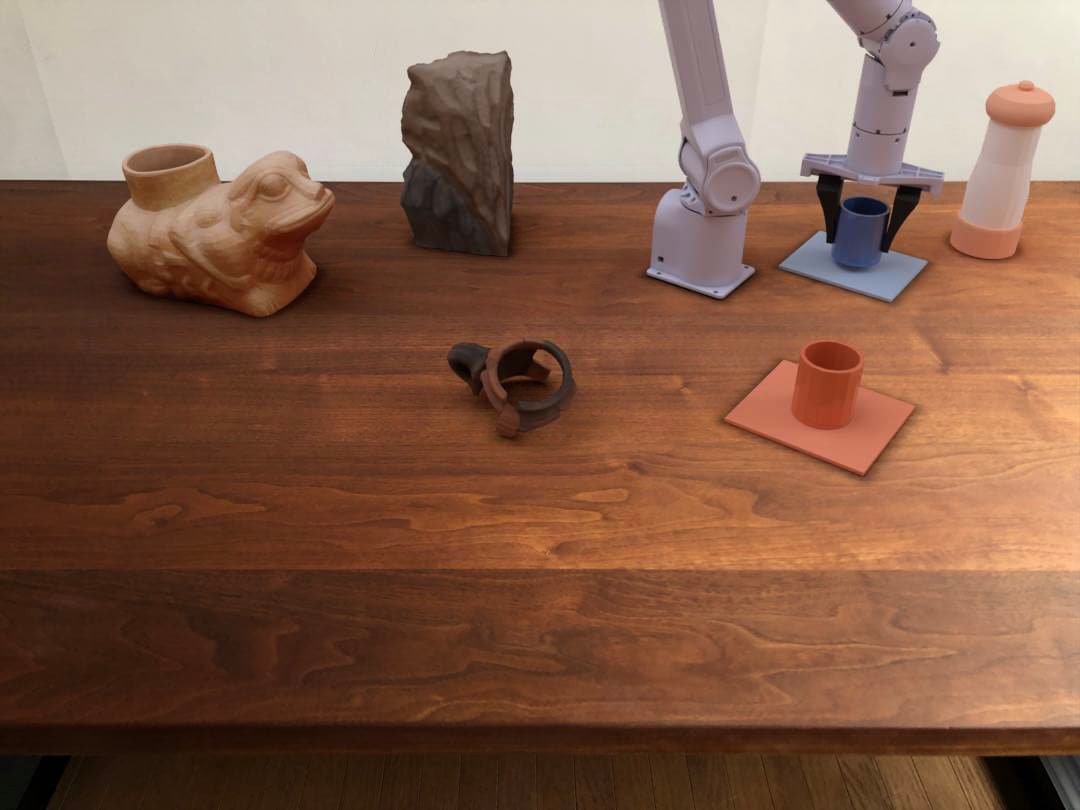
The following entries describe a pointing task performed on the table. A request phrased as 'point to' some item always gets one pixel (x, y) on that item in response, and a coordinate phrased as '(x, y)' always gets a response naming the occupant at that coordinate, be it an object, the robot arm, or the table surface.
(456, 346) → the dark brown ring-shaped piece
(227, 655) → the table surface
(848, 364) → the terracotta cup
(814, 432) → the coral mat
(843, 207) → the blue cup
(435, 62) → the grey brown rock
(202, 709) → the table surface
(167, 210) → the ceramic vessel
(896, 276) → the blue mat
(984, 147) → the salt shaker
